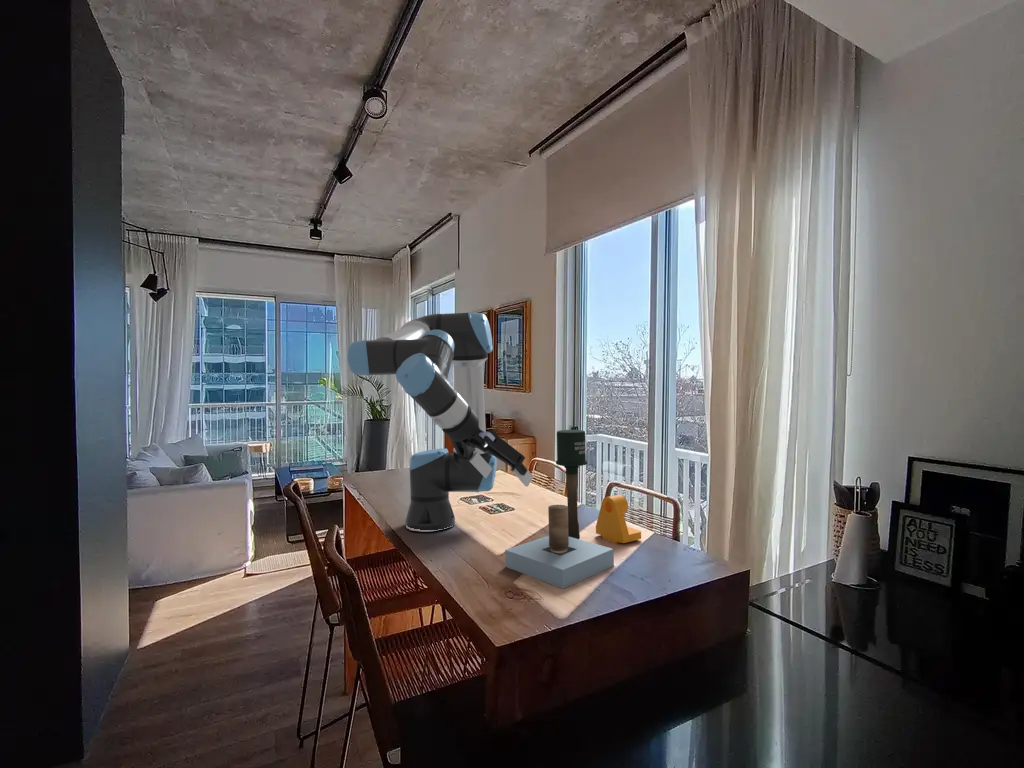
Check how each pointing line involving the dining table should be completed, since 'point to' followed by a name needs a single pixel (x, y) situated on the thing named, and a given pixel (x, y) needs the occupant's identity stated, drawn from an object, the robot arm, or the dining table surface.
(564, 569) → the socket plate
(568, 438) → the potato masher grenade
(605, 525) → the bracket
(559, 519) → the peg
